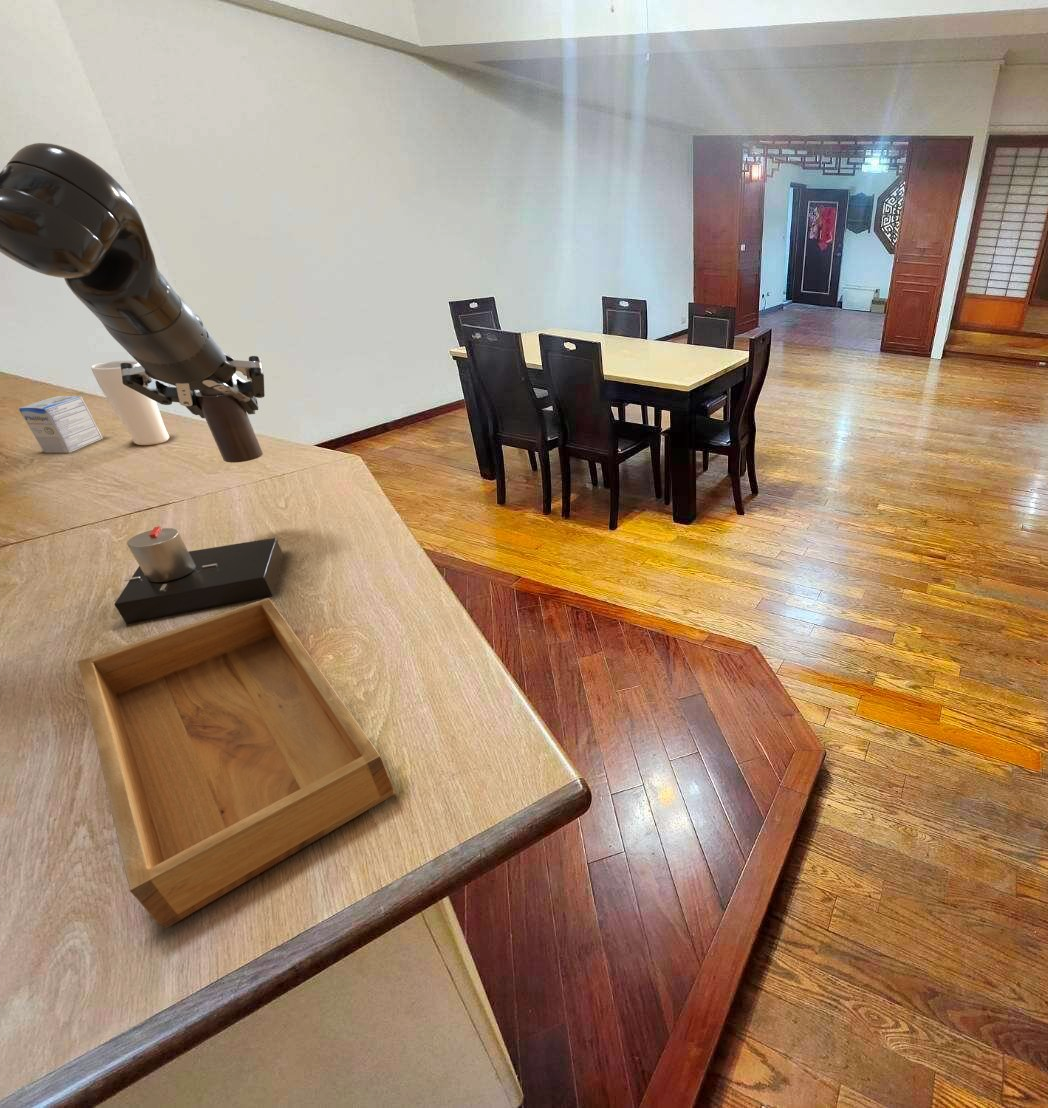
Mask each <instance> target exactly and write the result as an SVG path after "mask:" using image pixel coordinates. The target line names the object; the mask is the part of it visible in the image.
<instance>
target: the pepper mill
mask: <svg viewBox="0 0 1048 1108" xmlns="http://www.w3.org/2000/svg"><path fill="white" fill-rule="evenodd" d="M195 396H196V399H197V401H198V403H199V405H200V408H201V410H202V412H203V415H204V417H205V418H204V420H205V421H206V424H207V426H208V428H209V430H210V432H211V435H212V437H213V440H214V442H215V445H216V446H217V449H218V450H219V453H220V456H221V458H222V460H223V462H225V463H234V464H235V463H245V462H249V461H253V460H256V459H259V458H260V457H262V456H263V455H264V453H263V450H262V448H261V445H260V442H259V440H258V438H257V435H256V433H255V430H254V428H253V426H252V423H251V420H250V417H249V414H248V413H247V412H246V411H245V409H244V408H243V407H242V406H241V405H240V403H239V402H238V399H236V398H235V397H233V396H226V395H224V394H223V393H221V392H219V391H218V390H216V389H200V390H198V392H197V393H196V394H195Z"/></svg>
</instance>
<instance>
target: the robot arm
mask: <svg viewBox="0 0 1048 1108" xmlns="http://www.w3.org/2000/svg"><path fill="white" fill-rule="evenodd" d="M134 203H135V202H134V201H133V200H132V198H131V197H130V196H129V194H128V193H127V191H126V190H125V189H124V188H123V186H122V185H121V184H120V183H119V182H118V181H117V180H116V179H115V178H114V177H113V176H112V175H111V174H110V173H109V172H108V171H106V170H105V169H104V168H103V167H101V165H99V164H97V163H96V162H95V161H93V160H92V159H90V158H89V157H86V156H85V155H83V154H81V153H79V152H77V151H75V150H74V149H71V148H68V147H65V146H62V145H59V144H55V143H49V142H35V143H31V144H28V145H25V146H24V147H22V148H20V149H19V150H18V151H16V153H14V155H13V156H12V157H11V159H10V160H9V161H8V162H7V164H6V165H5V166H4V167H3V168H2V169H1V171H0V253H1V254H2V255H4V256H5V257H7V258H9V259H11V260H12V261H14V262H16V263H18V264H19V265H21V266H22V267H25V268H27V269H30V270H32V271H34V272H36V273H40V274H42V275H46V276H50V277H55V278H59V279H60V278H62V279H64V282H65V284H66V286H68V288H69V289H70V291H71V292H72V293H73V294H74V295H75V297H76V298H77V299H78V300H79V301H80V302H81V303H82V304H83V305H84V306H85V307H86V308H87V309H88V310H89V311H90V312H91V313H92V314H93V315H94V316H95V317H96V318H97V319H98V320H99V321H100V322H101V324H102V325H103V327H104V328H105V330H106V331H107V332H108V334H109V335H110V336H111V337H112V338H113V339H114V340H115V341H116V342H117V343H118V344H119V345H120V346H121V347H122V348H123V349H124V350H125V351H126V352H127V353H128V354H129V355H130V357H132V358H133V359H134V361H137V362H138V363H139V364H140V365H141V366H138V367H137V366H135V365H133V364H131V363H122V364H120V365H121V374H122V382H123V384H124V385H126V386H128V387H129V388H131V389H133V390H135V391H137V392H139V393H141V394H143V395H145V396H147V397H148V398H150V399H152V400H154V401H156V403H157V404H159V405H164V406H171V405H172V404H173V403H179V405H180V406H183V407H185V408H186V409H187V410H188V411H189V412H190V413H191V414H193V415H195V416H199V417H200V418H201V419H205V417H204V415H203V412H202V410H201V408H200V405H199V403H198V401H197V399H196V396H195V394H196V393H198V392H197V391H199V390H200V389H216V390H218V391H219V392H221V393H223V394H224V395H226V396H233V397H235V398H236V399H238V402H239V403H240V405H241V406H242V407H243V408H244V409H245V411H246V413H247V415H256V411H259V403H258V399H263V398H265V375H264V369H263V362H262V358H261V357H260V356H258V355H250V356H248V360H239V359H234V358H233V357H232V356H231V355H229V354H227V353H225V351H223V349H222V348H221V347H220V345H219V344H218V342H217V340H215V339H214V337H213V336H212V334H211V333H210V332H209V330H208V329H207V328H206V326H205V325H204V323H203V321H202V320H201V318H200V316H199V315H197V313H195V311H194V310H193V309H192V307H190V305H189V304H188V303H187V302H186V301H185V300H184V299H183V298H182V297H181V296H180V295H179V294H178V293H177V292H176V291H175V290H174V288H173V286H172V285H171V284H170V283H169V281H168V280H167V279H166V278H165V276H164V274H163V273H161V271H160V270H159V269H158V266H157V261H156V258H155V254H154V251H153V248H152V245H151V242H150V239H149V237H148V233H147V230H146V228H145V225H144V222H143V219H142V217H141V215H140V213H139V211H138V209H137V207H136V205H135V204H134ZM236 372H240V373H241V374H242V376H244V377H246V379H247V380H248V381H245V380H244V379H243V378H241V377H239V376H238V375H237V373H236Z"/></svg>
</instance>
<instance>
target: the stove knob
mask: <svg viewBox="0 0 1048 1108" xmlns="http://www.w3.org/2000/svg"><path fill="white" fill-rule="evenodd" d="M126 545H127V546H128V549H129V550H130V552H131V554H132V555H133V558H134V559H135V561H136V563H137V564H138V567H139V566H140V568H141V569H142V571H143V573H144V575H145V576H146V578H147V580H148V581H151V582H167V581H171V580H175V579H178V578H181V577H184V576H186V575H188V574H190V573H191V572H192V571H193V570H194V569H195V567H196V565H195V563H194V561H193V559H192V557H191V556H190V554H189V550H188V547H187V546H186V544H185V542H184V539H183V538H182V536H181V534H180V532H179V530H177V528H171V527H161V526H159V525H158V526H154V527H153V528H152V529H150V530H147V531H143V532H140V533H138V534H136V535H134V536H131V538H129V539H128V540H127V543H126Z"/></svg>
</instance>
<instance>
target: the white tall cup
mask: <svg viewBox="0 0 1048 1108" xmlns="http://www.w3.org/2000/svg"><path fill="white" fill-rule="evenodd" d="M122 363H131V364H133V365H135V366H137V367H138V366H141V365H140V364H139V363H138V362H137V361H136V360H113V361H112V360H111V361H105V362H100V363H99V362H98V363H95V364H92V365H91V366H90V369H91V372H92V374H93V376H94V378H95V381H96V382H97V384H98V386H99V388H100V390H101V392H102V393H103V394H104V396H105V398H106V399H107V401H108V402H109V404H110V406H111V407H112V409H113V411H115V413H116V415H117V416H118V418H119V419H120V421H121V423H122V425H123V426H124V427H125V429H126V431H127V432H128V434H129V436H130V438H131V440H132V442H133V443H134V444H136V445H138V446H152V445H153V446H154V445H157V444H162V443H165V442H167V441H168V440H169V439H170V435H169V433H168V431H167V428H166V425H165V422H164V419H163V418H162V414H161V411H160V409H159V406H158V402H156V401H154V400H152V399H150V398H148V397H147V396H145V395H143V394H141V393H139V392H137V391H135V390H133V389H131V388H129V387H128V386H126V385H124V384H123V382H122V374H121V365H120V364H122Z"/></svg>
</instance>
